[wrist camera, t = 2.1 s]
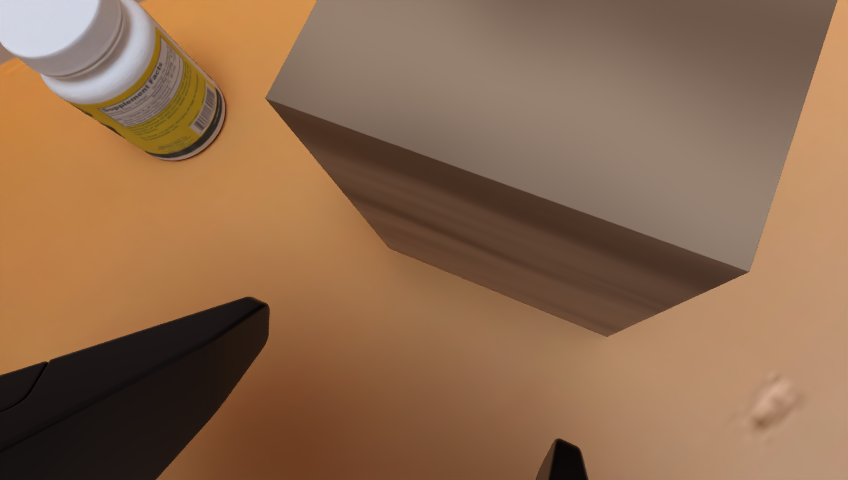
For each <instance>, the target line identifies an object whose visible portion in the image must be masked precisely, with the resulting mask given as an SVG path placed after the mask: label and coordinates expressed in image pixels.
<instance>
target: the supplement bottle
mask: <svg viewBox="0 0 848 480" xmlns="http://www.w3.org/2000/svg"><path fill="white" fill-rule="evenodd" d="M0 42H1V43H2V45H3V46H4V47H5V48H6V49H7V50H8V51H9V52H11V53H12V54H13V55H15V56H16V57H18V58H19V59H20V60H22V61H23V62H24V63H26V64H27V65H28V66H29V67H30V68H32V69H33V70H35V71H36V72H39V73H40V75H41V77H42V79H43V81H44V82H45V83H46V85H47V86H48V87H49V88H50V89H51V90H52V91H53V92H54V93H55V94H56V95H58V96H59V97H61V98H62V99H64V100H65V101H67V102H68V103H70V104H72V105H73V106H74V107H76V108H78V109H79V110H81V111H82V112H84V113H85V114H87V115H89V116H90V117H92V118H94V119H95V120H97V121H98V122H100V123H101V124H103V125H104V126H106V127H107V128H109V129H111V130H112V131H114V132H115V133H117V134H118V135H120V136H122V137H123V138H125V139H126V140H128V141H129V142H131V143H132V144H134V145H136V146H137V147H139V148H140V149H142V150H144V151H145V152H147V153H148V154H150V155H152V156H154V157H156V158H159V159H163V160H181V159H186V158H189V157H191V156H193V155H195V154H197V153H199V152H200V151H202V150H203V149H204V148H206V147H207V146H208V145H209V144H210V143H211V142H212V141H213V140H214V138H215V137H216V136H217V134H218V133H219V131H220V129H221V127H222V124H223V121H224V116H225V103H224V98H223V95H222V93H221V91H220V89H219V87H218V86H217V85H216V83H215V82H214V81H213V80H212V79H211V78H210V77H209V76H208V75H207V74H206V73H205V72H204V71H203V70H202V69H201V68H200V66H199V65H198V64H197V63H196V62H195V61H194V60H193V59H192V58H191V57H190V56H189V55H188V54H187V53H186V52H185V51H184V50H183V49H182V48H181V47H180V46H179V45H178V44H177V43H176V42H175V41H174V40H173V39H172V38H171V37H170V36H169V35H168V34H167V33H166V32H165V31H164V29H163V28H162V27H161V26H160V25H159V24H158V23H157V22H156V21H155V20H154V19H153V18H152V17H151V16H150V15H149V14H148V12H147V11H146V10H145V9H144V8H143V7H142V6H141V5H139V4H138V3H137V2H135V1H134V0H0Z"/></svg>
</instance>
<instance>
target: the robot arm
mask: <svg viewBox="0 0 848 480" xmlns="http://www.w3.org/2000/svg"><path fill="white" fill-rule="evenodd" d="M269 314H270V309H269V306H268V304H266V303H265V302H262V301H260V300H258V299H256V298H254V297H245V298H241V299H238V300H235V301H232V302H229V303H226V304H223V305H220V306H216V307H213V308H210V309H207V310H204V311H201V312H198V313H195V314H191V315H188V316H185V317H182V318H179V319H176V320H173V321H170V322H167V323H163V324H160V325H157V326H154V327H151V328H148V329H145V330H142V331H138V332H135V333H132V334H129V335H126V336H123V337H120V338H117V339H113V340H110V341H107V342H104V343H101V344H98V345H95V346H92V347H89V348H85V349H82V350H79V351H76V352H73V353H70V354H67V355H64V356H60V357H57V358H54V359H51V360H50V361H49V362H46V361H45V362H41V363H38V364H35V365H32V366H29V367H26V368H23V369H19V370H16V371H13V372H9V373H6V374H3V375H0V480H156V479H157V478H158V477H159V476H160V474H161V473H162V472H163V471H164V470H165V469H166V468H167V467H168V465H169V464H170V463H171V462H172V461H173V460H174V459H175V458H176V457H177V455H178V454H179V453H180V452H181V451H182V450H183V449H184V448H185V447H186V445H187V444H188V443H189V442H190V441H191V440H192V439H193V438H194V437H195V435H196V434H197V433H198V432H199V431H200V430H201V429H202V428H203V426H204V425H205V424H206V423H207V422H208V421H209V420H210V419H211V417H212V416H213V415H214V414H215V413H216V412H217V410H218V409H219V408H220V407H221V405H222V404H223V403H224V401H225V400H226V399H227V397H228V396H229V394H230V393H231V392H232V390H233V389H234V388H235V386H236V385H237V383H238V382H239V381H240V379H241V378H242V376H243V375H244V374H245V372H246V371H247V370H248V368H249V367H250V365H251V364H252V363H253V361H254V360H255V358H256V357H257V356H258V354H259V353H260V352H261V350H262V349H263V347H264V346H265V344H266V342H267V339H268V335H269ZM536 480H588V476H587V472H586V468H585V464H584V460H583V456H582V453H581V450H580V449H579V447H577V446H575V445H573V444H571V443H569V442H567V441H564V440H562V439H556V440H555V441H554V442H553V444H552V446H551V448H550V450H549V452H548V454H547V455H546V457H545V459H544V461H543V463H542V465H541V467H540V469H539V472H538V474H537V477H536Z"/></svg>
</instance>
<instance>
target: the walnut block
mask: <svg viewBox="0 0 848 480" xmlns="http://www.w3.org/2000/svg"><path fill="white" fill-rule="evenodd" d="M836 3H837V0H317V2H316V4H315V6H314V8H313V10H312V11H311V13H310V15H309V17H308V19H307V21H306V23H305V25H304V26H303V28H302V30H301V32H300V34H299V36H298V38H297V40H296V42H295V43H294V45H293V47H292V49H291V51H290V53H289V55H288V57H287V58H286V60H285V62H284V64H283V66H282V68H281V70H280V72H279V74H278V75H277V77H276V79H275V81H274V83H273V85H272V87H271V89H270V90H269V92H268V94H267V96H266V100H267V101H268V102H269V103H270V105H271V106H272V107H273V108H274V109H275V111H276V112H277V113H278V114H279V115H280V117H281V118H282V119H283V120H284V121H285V123H286V124H287V125H288V126H289V127H290V129H291V130H292V131H293V132H294V134H295V135H296V136H297V137H298V138H299V140H300V141H301V142H302V143H303V144H304V146H305V147H306V148H307V149H308V150H309V152H310V153H311V154H312V155H313V156H314V158H315V159H316V160H317V161H318V163H319V164H320V165H321V166H322V167H323V169H324V170H325V171H326V172H327V173H328V175H329V176H330V177H331V178H332V179H333V181H334V182H335V183H336V184H337V186H338V187H339V188H340V189H341V190H342V192H343V193H344V194H345V195H346V196H347V198H348V199H349V200H350V201H351V202H352V204H353V205H354V206H355V207H356V208H357V210H358V211H359V212H360V213H361V215H362V216H363V217H364V218H365V219H366V221H367V222H368V223H369V224H370V225H371V227H372V228H373V229H374V230H375V231H376V233H377V234H378V235H379V236H380V237H381V239H382V240H383V241H384V242H385V244H386V245H387V246H388V247H389V248H390V249H392V250H395V251H397V252H400V253H402V254H405V255H407V256H410V257H412V258H415V259H417V260H420V261H422V262H424V263H427V264H429V265H432V266H434V267H437V268H439V269H442V270H444V271H447V272H449V273H451V274H454V275H456V276H459V277H461V278H464V279H466V280H469V281H471V282H474V283H476V284H478V285H481V286H483V287H486V288H488V289H491V290H493V291H496V292H498V293H501V294H503V295H506V296H508V297H510V298H513V299H515V300H518V301H520V302H523V303H525V304H528V305H530V306H533V307H535V308H537V309H540V310H542V311H545V312H547V313H550V314H552V315H555V316H557V317H560V318H562V319H565V320H567V321H569V322H572V323H574V324H577V325H579V326H582V327H584V328H587V329H589V330H592V331H594V332H596V333H599V334H601V335H604V336H606V337H608V336H610V335H612V334H614V333H617V332H619V331H621V330H623V329H625V328H627V327H630V326H632V325H634V324H636V323H638V322H641V321H643V320H645V319H647V318H649V317H652V316H654V315H656V314H658V313H660V312H663V311H665V310H667V309H669V308H671V307H674V306H676V305H678V304H680V303H682V302H684V301H687V300H689V299H691V298H693V297H695V296H698V295H700V294H702V293H704V292H706V291H709V290H711V289H713V288H715V287H717V286H720V285H722V284H724V283H726V282H728V281H730V280H733V279H735V278H737V277H739V276H741V275H744V274H746V273H748V272H749V271H750V268H751V265H752V262H753V259H754V256H755V253H756V250H757V247H758V244H759V241H760V238H761V234H762V231H763V228H764V225H765V222H766V219H767V216H768V213H769V210H770V207H771V204H772V200H773V197H774V194H775V191H776V188H777V185H778V182H779V179H780V176H781V173H782V170H783V167H784V163H785V160H786V157H787V154H788V151H789V148H790V145H791V142H792V139H793V136H794V133H795V129H796V126H797V123H798V120H799V117H800V114H801V111H802V108H803V105H804V102H805V99H806V96H807V92H808V89H809V86H810V83H811V80H812V77H813V74H814V71H815V68H816V65H817V62H818V58H819V55H820V52H821V49H822V46H823V43H824V40H825V37H826V34H827V31H828V28H829V25H830V21H831V18H832V15H833V12H834V9H835V6H836Z"/></svg>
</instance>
